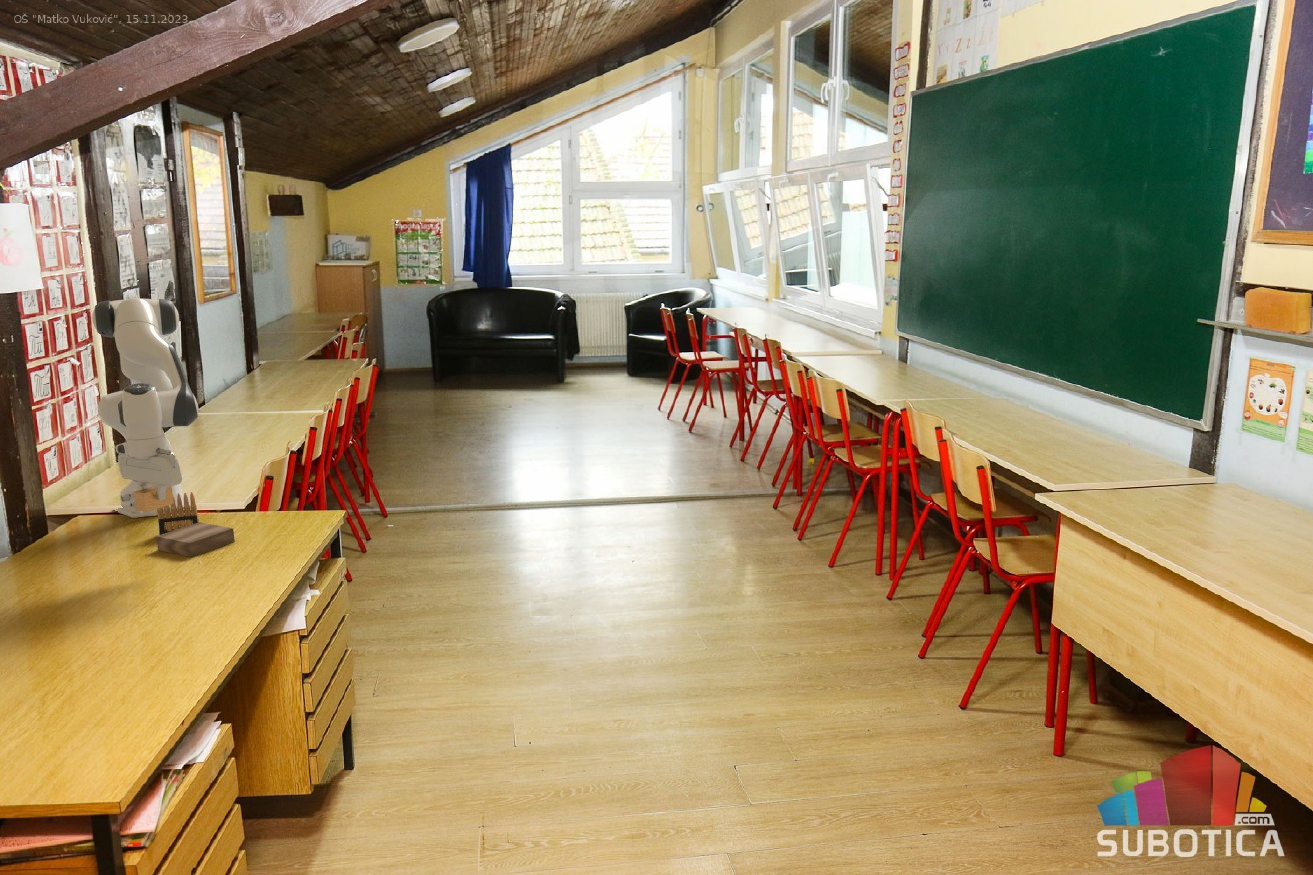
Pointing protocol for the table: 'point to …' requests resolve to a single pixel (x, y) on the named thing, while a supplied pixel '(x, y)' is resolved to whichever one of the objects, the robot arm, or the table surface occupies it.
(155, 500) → the light brown wooden block
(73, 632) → the table surface
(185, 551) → the walnut stand
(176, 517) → the ammunition clip
